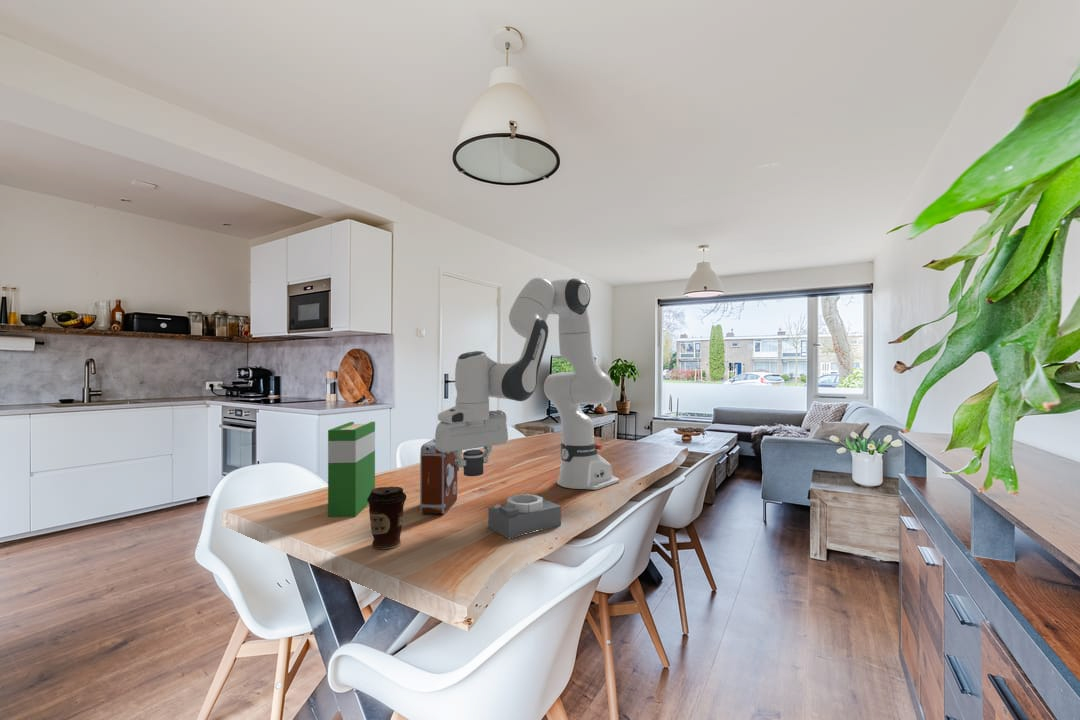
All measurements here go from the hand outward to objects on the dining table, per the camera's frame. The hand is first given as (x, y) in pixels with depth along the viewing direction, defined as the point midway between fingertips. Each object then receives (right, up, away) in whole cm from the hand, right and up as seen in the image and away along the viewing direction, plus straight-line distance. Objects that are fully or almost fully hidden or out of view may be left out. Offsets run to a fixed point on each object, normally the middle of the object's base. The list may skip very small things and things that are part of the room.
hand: (473, 464), depth 122 cm
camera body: (+14, -15, -3) cm, 21 cm away
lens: (0, -2, 0) cm, 2 cm away
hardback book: (-37, -16, +13) cm, 43 cm away
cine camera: (-11, -16, +15) cm, 24 cm away
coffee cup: (-18, -16, -15) cm, 28 cm away
